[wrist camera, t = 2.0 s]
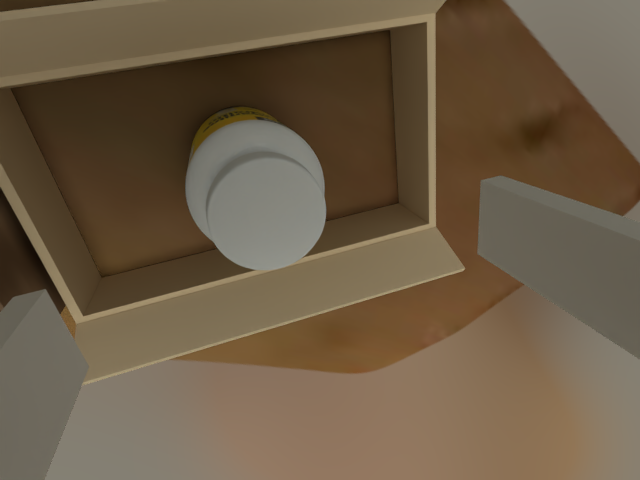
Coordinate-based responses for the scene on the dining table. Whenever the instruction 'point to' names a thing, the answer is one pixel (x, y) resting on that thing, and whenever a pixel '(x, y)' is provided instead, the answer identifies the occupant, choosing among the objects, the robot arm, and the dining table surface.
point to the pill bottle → (255, 189)
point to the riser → (20, 261)
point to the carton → (212, 266)
